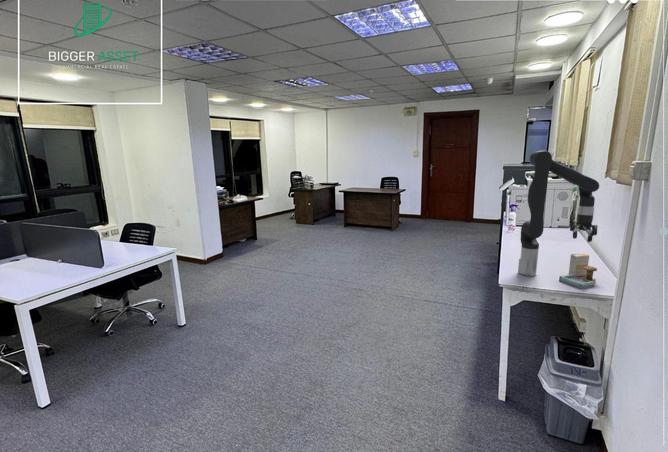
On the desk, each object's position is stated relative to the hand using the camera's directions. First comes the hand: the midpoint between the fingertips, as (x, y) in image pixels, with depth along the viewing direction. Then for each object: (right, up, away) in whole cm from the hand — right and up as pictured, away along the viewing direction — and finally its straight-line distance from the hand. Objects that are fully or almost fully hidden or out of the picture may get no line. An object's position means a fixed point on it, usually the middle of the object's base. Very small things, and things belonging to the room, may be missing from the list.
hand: (581, 240), depth 198 cm
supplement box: (+1, -22, +5) cm, 22 cm away
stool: (+1, -24, -5) cm, 24 cm away
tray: (-9, -25, -7) cm, 27 cm away
